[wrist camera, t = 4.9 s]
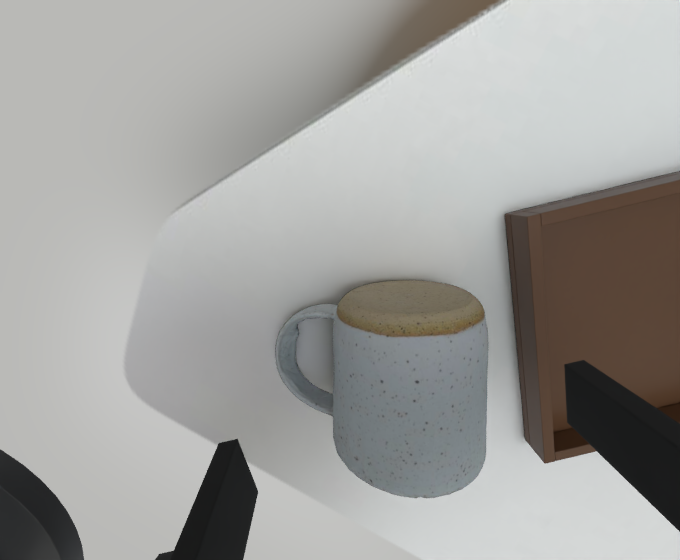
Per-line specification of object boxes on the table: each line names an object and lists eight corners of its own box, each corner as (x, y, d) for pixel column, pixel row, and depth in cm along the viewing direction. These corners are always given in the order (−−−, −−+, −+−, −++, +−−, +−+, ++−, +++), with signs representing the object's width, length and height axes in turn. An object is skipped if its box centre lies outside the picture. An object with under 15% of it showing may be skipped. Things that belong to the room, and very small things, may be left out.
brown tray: (524, 439, 23) (544, 464, 21) (504, 213, 18) (527, 216, 16) (720, 393, 23) (759, 413, 21) (747, 154, 18) (799, 150, 16)
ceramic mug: (454, 268, 19) (535, 319, 12) (450, 391, 21) (516, 499, 14) (271, 281, 19) (236, 342, 11) (286, 403, 21) (265, 521, 14)
